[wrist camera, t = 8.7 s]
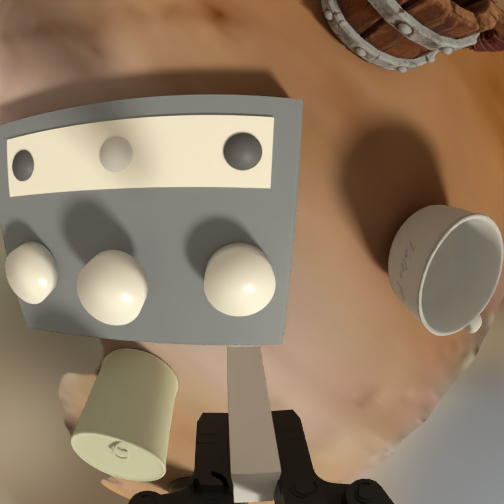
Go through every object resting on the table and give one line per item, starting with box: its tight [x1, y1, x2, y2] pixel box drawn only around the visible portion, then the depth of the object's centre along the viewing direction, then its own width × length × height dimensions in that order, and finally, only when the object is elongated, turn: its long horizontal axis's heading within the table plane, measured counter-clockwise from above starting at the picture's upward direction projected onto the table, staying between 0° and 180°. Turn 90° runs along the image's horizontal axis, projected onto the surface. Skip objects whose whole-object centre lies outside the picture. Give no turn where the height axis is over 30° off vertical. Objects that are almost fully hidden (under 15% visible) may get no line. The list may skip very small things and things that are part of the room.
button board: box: [0, 95, 303, 345], centre depth 22 cm, size 20×26×3 cm
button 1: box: [204, 243, 276, 316], centre depth 22 cm, size 5×5×2 cm
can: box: [70, 348, 178, 481], centre depth 24 cm, size 9×9×12 cm
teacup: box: [388, 205, 503, 336], centre depth 23 cm, size 14×11×8 cm
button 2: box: [5, 241, 58, 304], centre depth 20 cm, size 5×5×2 cm
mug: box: [321, 0, 504, 73], centre depth 13 cm, size 12×14×15 cm
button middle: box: [77, 250, 149, 325], centre depth 19 cm, size 5×5×2 cm
